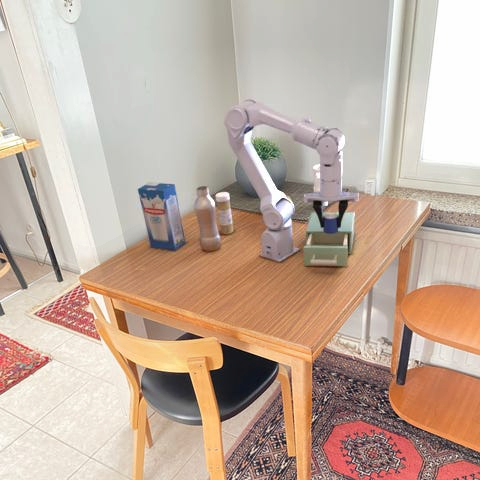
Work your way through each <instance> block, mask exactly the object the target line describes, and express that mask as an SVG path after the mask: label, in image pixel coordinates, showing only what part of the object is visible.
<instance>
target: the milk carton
mask: <svg viewBox="0 0 480 480" xmlns="http://www.w3.org/2000/svg"><path fill="white" fill-rule="evenodd" d="M137 192H138V197H139V201H140V205H141V210H142V214H143V215H142V216H143V220H144V223H145V227H146V232H147V237H148V240H149V244H150V245H149V246H150V248H152V249H153V248H154V249H160V250H167V251H174V252H176V251H177V250H178V249H180V248H181V247H182V246H184V244H186V237H185V233H184V227H183V223H182V217H181V216H182V215H181V212H180V206H179V201H178V195H177V190H176V184H175V183H164V182H148V183H146V184H144V185H142V186H140V187H139V188H137Z"/></svg>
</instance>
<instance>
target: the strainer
mask: <svg viewBox="0 0 480 480" xmlns="http://www.w3.org/2000/svg"><path fill="white" fill-rule="evenodd" d="M312 171H313V180H314V182H313V183H314V185H313V187H312V188H313V189H312V191H313V193H317V192H320V163H318V164H315V165H313V167H312ZM328 205H329V202H323V207H327V206H328Z"/></svg>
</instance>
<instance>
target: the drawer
mask: <svg viewBox="0 0 480 480" xmlns="http://www.w3.org/2000/svg"><path fill="white" fill-rule="evenodd" d="M348 241H349V233H334V234H326V233H310V234H309V238H308V241H307V244H306V243H305V245H304V246H303V265H304V266H315V267H316V266H322V267H348V255H349V254H348Z"/></svg>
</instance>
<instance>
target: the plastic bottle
mask: <svg viewBox="0 0 480 480" xmlns="http://www.w3.org/2000/svg"><path fill="white" fill-rule="evenodd" d="M209 189H210V188H209V187H208V185H202V186H198V187H196V188H195V190H196V194H195V195H196V196H197V197H196V199H195V200H194V203H193V209H194V212H195V215H196V218H197V222H198V226H199V244H200V246H201V248H202V250H204V251H207V252H211V251H216V250H218V249H219V248H220V247H221V246H222V245H221V244H222V240H221V235H220V233H219V229H218V226H217V217H216V216H217V215H216V202H215V200H214V198H213V197H212V196H211V195H210V190H209Z"/></svg>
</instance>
